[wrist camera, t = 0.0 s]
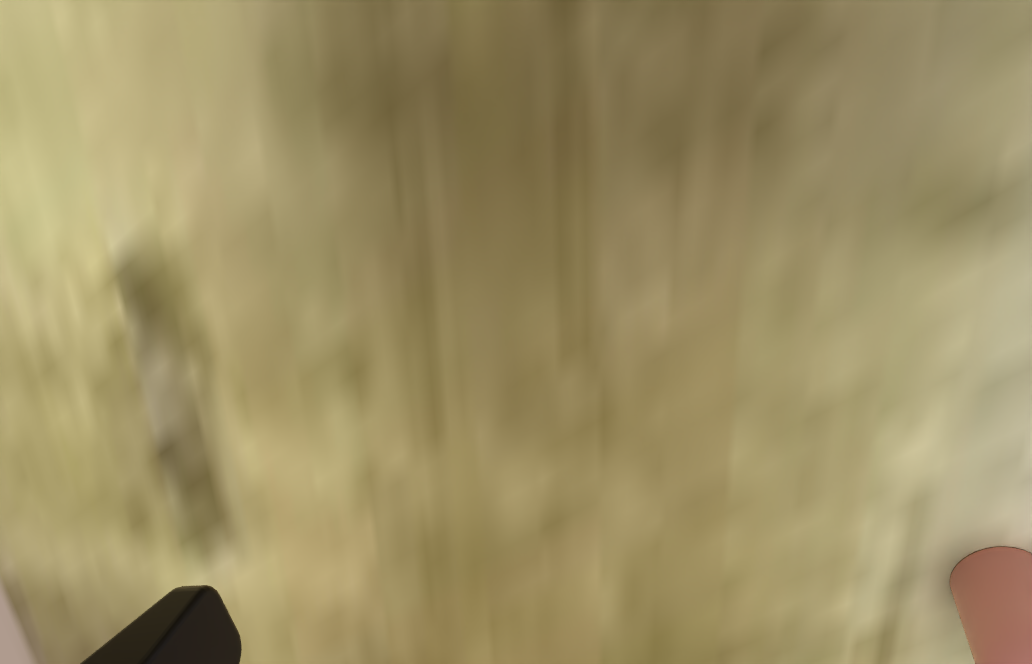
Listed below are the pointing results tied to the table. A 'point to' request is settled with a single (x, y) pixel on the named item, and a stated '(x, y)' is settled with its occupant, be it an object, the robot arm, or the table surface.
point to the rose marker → (996, 604)
